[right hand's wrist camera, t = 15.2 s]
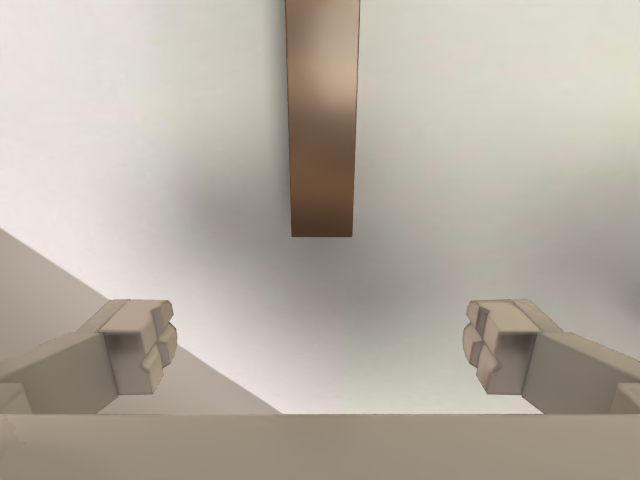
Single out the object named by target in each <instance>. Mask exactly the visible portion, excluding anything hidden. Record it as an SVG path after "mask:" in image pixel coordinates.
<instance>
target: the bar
mask: <svg viewBox="0 0 640 480" xmlns="http://www.w3.org/2000/svg"><path fill="white" fill-rule="evenodd" d="M285 18H286V54H287V89H288V125H289V161H290V196H291V232H292V237H352V227H353V198H354V169H355V140H356V112H357V83H358V54H359V25H360V0H285Z"/></svg>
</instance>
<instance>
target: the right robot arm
mask: <svg viewBox="0 0 640 480" xmlns="http://www.w3.org/2000/svg"><path fill="white" fill-rule="evenodd" d="M173 315H174V314H173V309H172V304H171V303H170V302H169V301H168V300H131V299H116V300H109V301H108V302H107V303H106V304H105V305H104V306H103V307H102V308H101V309H100V310H99V311H97V312H96V313H95V314H94V315H93V316H92V317H91V318H90V319H89V320H88V321H87V322H86V323H85V324H84V325H82V326H81V327H80V328H79V329H78V330H77V331H76V332H75V333H67V334H64V335H62V336H59V337H57V338H55V339H52V340H50V341H47V342H45V343H43V344H40V345H38V346H35V347H33V348H31V349H28V350H26V351H24V352H21V353H19V354H16V355H14V356H11V357H9V358H7V359H4V360H2V361H0V480H640V361H638V360H636V359H633V358H631V357H628V356H626V355H624V354H621V353H619V352H616V351H614V350H612V349H609V348H607V347H605V346H602V345H600V344H597V343H595V342H593V341H590V340H588V339H585V338H583V337H581V336H578V335H576V334H573V333H565V332H564V331H563V330H562V329H561V328H560V327H559V326H558V325H557V324H555V323H554V322H553V321H552V320H551V319H550V318H549V317H548V316H547V315H546V314H545V313H544V312H543V311H542V310H541V309H539V308H538V307H537V306H536V305H535V304H534V303H533V302H532V301H531V300H527V299H516V300H474V301H470V303H469V305H468V308H467V313H466V315H467V316H468V318H469V320H470V321H471V322H470V323H469V324H468V325H467V326H466V327H465V328H464V333H463V348H464V352H465V355H466V358H467V360H468V362H469V363H470V364H471V365H473V366H474V367H476V368H477V374H476V376H477V377H478V379H479V381H480V383H481V384H482V386H483V388H484V389H485V391H486V393H487V394H498V395H522V397H523V398H524V399H525V400H527V401H528V402H529V403H531V404H532V405H533V406H535V407H536V408H537V409H539V410H540V411H541V412H543V413H544V414H96V413H98V412H99V411H100V410H102V409H103V408H104V407H105V406H107V405H108V404H109V403H111V402H112V401H113V400H115V399H116V398H117V397H118V395H141V394H153V393H154V391H155V390H156V388H157V386H158V384H159V382H160V381H161V379H162V377H163V376H164V374H163V368H164V367H166V366H167V365H169V364H170V363H171V362H172V360H173V358H174V356H175V352H176V348H177V332H176V328H175V327H174V326H173V325H172V324H171V323H170V322H169V321H170V320H171V318H172V316H173Z"/></svg>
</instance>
